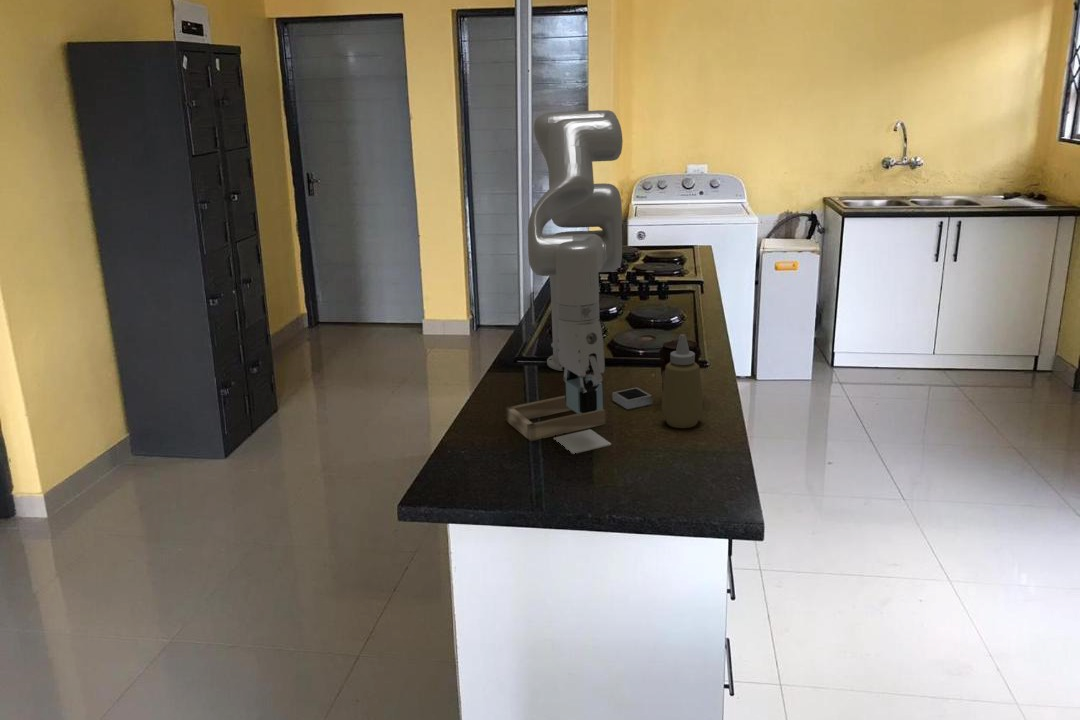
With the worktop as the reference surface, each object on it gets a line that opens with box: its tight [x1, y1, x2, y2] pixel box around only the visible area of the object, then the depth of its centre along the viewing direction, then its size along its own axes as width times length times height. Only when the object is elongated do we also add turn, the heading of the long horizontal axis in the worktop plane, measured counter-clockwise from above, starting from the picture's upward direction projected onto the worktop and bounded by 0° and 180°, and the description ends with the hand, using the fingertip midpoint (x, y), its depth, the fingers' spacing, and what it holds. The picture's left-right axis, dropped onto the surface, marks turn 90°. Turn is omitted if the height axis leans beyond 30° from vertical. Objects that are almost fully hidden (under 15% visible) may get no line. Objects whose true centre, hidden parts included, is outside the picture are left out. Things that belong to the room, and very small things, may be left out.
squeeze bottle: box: [661, 333, 704, 429], centre depth 166 cm, size 8×8×18 cm
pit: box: [612, 386, 653, 411], centre depth 180 cm, size 6×6×2 cm
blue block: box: [565, 377, 604, 414], centre depth 160 cm, size 5×5×5 cm
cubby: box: [505, 395, 606, 442], centre depth 171 cm, size 11×16×3 cm
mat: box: [553, 428, 612, 455], centre depth 162 cm, size 8×8×1 cm
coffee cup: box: [658, 339, 702, 392], centre depth 177 cm, size 9×8×13 cm
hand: (581, 405), depth 160 cm, fingers closed on blue block, 5 cm apart
